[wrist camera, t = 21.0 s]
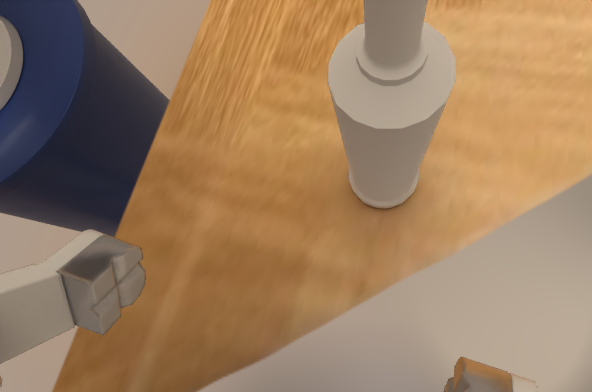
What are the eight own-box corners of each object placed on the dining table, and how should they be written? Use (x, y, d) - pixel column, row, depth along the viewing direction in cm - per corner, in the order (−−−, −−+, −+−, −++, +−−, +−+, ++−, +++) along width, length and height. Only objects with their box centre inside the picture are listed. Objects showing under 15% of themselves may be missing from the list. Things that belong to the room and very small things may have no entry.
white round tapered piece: (393, 134, 34) (435, -248, 10) (431, 188, 33) (583, -114, 9) (336, 168, 35) (250, -130, 11) (372, 224, 33) (366, 22, 9)
